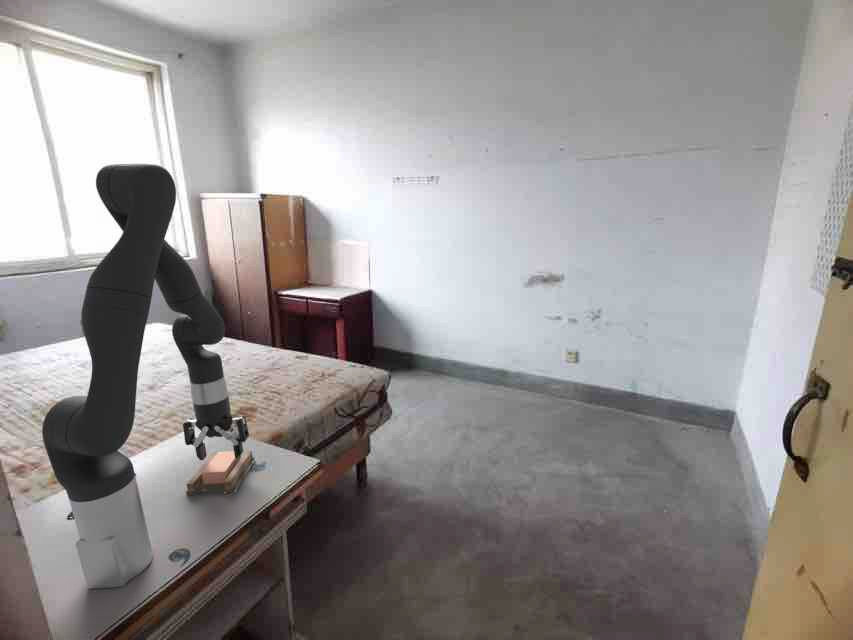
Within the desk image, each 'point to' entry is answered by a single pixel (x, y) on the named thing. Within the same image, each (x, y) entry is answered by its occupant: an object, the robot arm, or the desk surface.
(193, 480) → the holder
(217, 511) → the desk surface
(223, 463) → the salmon pink block
